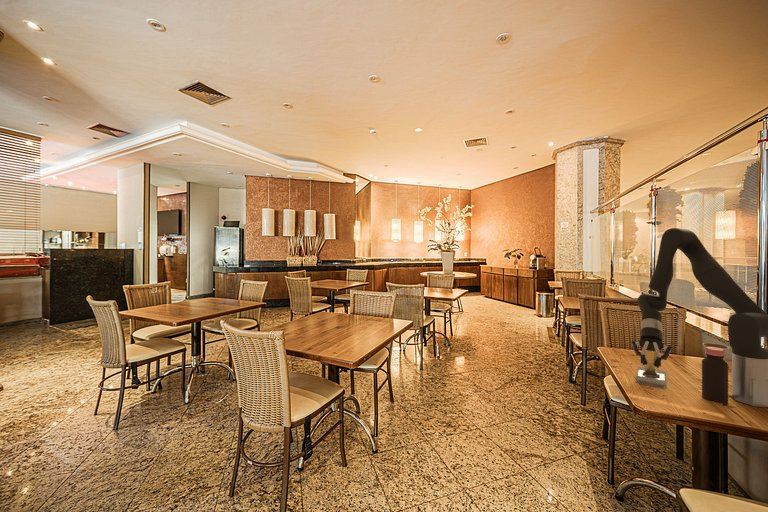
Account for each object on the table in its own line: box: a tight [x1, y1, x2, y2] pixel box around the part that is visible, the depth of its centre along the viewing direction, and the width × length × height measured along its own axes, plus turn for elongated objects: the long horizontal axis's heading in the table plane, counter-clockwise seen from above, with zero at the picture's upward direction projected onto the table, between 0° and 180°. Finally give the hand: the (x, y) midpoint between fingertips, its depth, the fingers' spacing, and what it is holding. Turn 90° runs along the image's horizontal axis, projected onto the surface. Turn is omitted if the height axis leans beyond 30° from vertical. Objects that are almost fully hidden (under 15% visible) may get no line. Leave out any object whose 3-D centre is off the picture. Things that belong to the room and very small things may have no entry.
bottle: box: [701, 347, 729, 407], centre depth 119 cm, size 7×7×20 cm
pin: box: [644, 349, 658, 376], centre depth 136 cm, size 4×4×10 cm
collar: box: [637, 370, 665, 387], centre depth 136 cm, size 9×9×2 cm
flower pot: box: [702, 342, 730, 362], centre depth 159 cm, size 9×9×9 cm
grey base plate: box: [634, 366, 668, 390], centre depth 140 cm, size 24×10×1 cm, turn 139°
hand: (650, 365), depth 135 cm, fingers closed on pin, 4 cm apart
